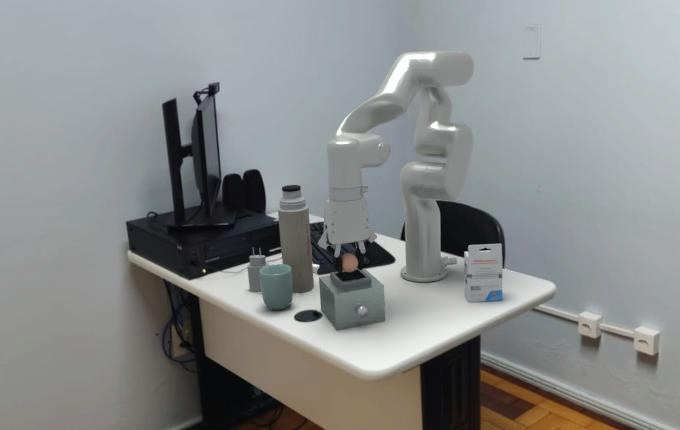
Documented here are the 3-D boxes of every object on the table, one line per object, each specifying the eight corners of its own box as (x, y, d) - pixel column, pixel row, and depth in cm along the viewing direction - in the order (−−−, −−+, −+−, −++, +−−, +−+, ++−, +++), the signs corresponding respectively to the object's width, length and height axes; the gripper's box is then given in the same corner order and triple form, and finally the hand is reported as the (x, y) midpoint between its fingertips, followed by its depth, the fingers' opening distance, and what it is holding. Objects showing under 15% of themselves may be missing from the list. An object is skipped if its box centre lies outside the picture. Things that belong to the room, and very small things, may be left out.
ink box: (497, 293, 156) (498, 237, 152) (502, 301, 151) (503, 243, 148) (463, 294, 156) (463, 239, 152) (467, 302, 152) (467, 245, 148)
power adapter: (252, 287, 169) (248, 245, 165) (271, 288, 168) (268, 246, 165) (249, 292, 166) (244, 249, 163) (268, 292, 165) (264, 249, 162)
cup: (281, 315, 150) (278, 276, 148) (256, 309, 154) (253, 272, 152) (300, 303, 156) (297, 266, 154) (275, 298, 161) (272, 262, 158)
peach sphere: (354, 267, 147) (354, 249, 146) (361, 273, 143) (360, 255, 142) (337, 270, 146) (336, 252, 145) (343, 276, 142) (342, 257, 141)
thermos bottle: (317, 282, 170) (310, 182, 162) (309, 293, 162) (302, 189, 155) (289, 281, 171) (281, 183, 164) (280, 292, 164) (272, 189, 157)
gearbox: (366, 302, 155) (365, 263, 152) (388, 324, 142) (387, 282, 140) (321, 310, 152) (318, 271, 149) (339, 334, 139) (336, 291, 136)
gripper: (374, 186, 146) (376, 260, 150) (305, 194, 141) (309, 270, 145) (386, 192, 139) (388, 269, 144) (314, 201, 134) (319, 280, 139)
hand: (349, 269), depth 144 cm, fingers closed on peach sphere, 4 cm apart
